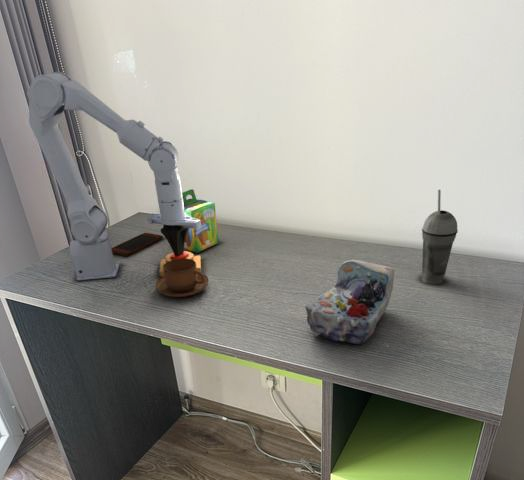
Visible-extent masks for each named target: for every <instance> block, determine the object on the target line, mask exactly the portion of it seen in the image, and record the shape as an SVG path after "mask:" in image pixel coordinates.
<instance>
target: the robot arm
mask: <svg viewBox="0 0 524 480" xmlns="http://www.w3.org/2000/svg"><path fill="white" fill-rule="evenodd" d="M26 95H27V98H28V123H29V127H30V129H31V130H32V132H33V134H34V137H35V139H36V141H37V143H38V145H39V147H40V149H41V151H42V153H43V155H44V158H45V159H46V162H47V164H48V166H49V167H50V170H51V172H52V174H53V177H54V178H55V180H56V182H57V184H58V186H59V188H60V190H61V193H62V195H63V197H64V199H65V201H66V203H67V217H68V220H69V223H70V232H71V234H72V236H73V238H74V240H71V241H70V243H69V253H70V258H71V261H72V265H73V269H74V273H75V275H76V281H88V280H97V279H98V280H99V279H107V278H116V276H117V274H118V271H119V268H120V265H121V264H120V263H119V262H115V257H114V253H112V249H111V248H112V244H111V241H110V237H109V233H108V231H107V230H106V228H107V226H108V222H109V219H108V218H109V217H108V215H107V213H106V211H104V210H103V208H101V207H100V206H99V204H98V201H97V200H96V199H95V198H94V197H93V196H91V195H90V194H89V191H88V189H87V186H86V184H85V182H84V180H83V177H82V175H81V173H80V171H79V169H78V167H77V165H76V161H75V160H74V158H73V156H72V154H71V153H72V152H70V149H69V146H68V144H67V142H66V140H65V138H64V136H63V134H62V132H61V129H60V127H59V123H60V121H61V118H62V116H63V113H64V111H82V112H84V113H85V114H86V115H88V116H90V117H91V118H93V119H94V120H96V121H97V122H99V123H101V124H102V125H103V126H105V127H106V128H108V129H109V130H111V131H112V132H114V133H116V135H117V138H118V141H119V143H120V144H121V145H123V146H124V147H125V148H127V149H128V150H129V151H130V152H132V153H134V154H135V155H136V156H138V157H139V158H141V159H142V160H143V161H146V162H147V163H148V166H149V168H150V170H151V171H152V172H153V176H154V186H155V192H156V196H157V203H158V209H159V213H150V214H148V215H147V216H146V217H147V223H148V224H150V225H153V224H157V225H163V226H162V228H160V233H161V234H162V236H163V237H164V238H165V239H166V241H167V243H168V244H169V246H170V248H171V251H172V253H174V255H175V256H180V255H181V254H183V252H184V251H185V250H184V243H185V238H186V235H187V232H188V230H189V228H191V229H193V230H199V229H200V228H202V227H201V220H198V219H194V218H192V217H189V216H186V213H185V211H184V204H183V197H182V193H183V191H182V190H183V189H182V183H181V178H180V175H179V173H180V171H179V168H178V165H177V163H178V162H179V152H178V150H177V148H176V147H175V145H173V144H172V142H170V141H167V140H164V138H163V137H162V136H159V137H158V136H157V135H155V134H154V133H153V132H151V130H149V129H148V128H146V127H144V126H145V125H146V124H145V122H143V121H142V120H138V121H136V120H135V119H125V118H123V117H122V116H121V115H120V114H118V113H117V112H116V111H114V110H113V109H112V108H111V107H109V106H108V105H107V104H106V103H104V102H103V101H102V100H101V99H99V98H98V96H96V95H95V94H93V93H92V92H91V91H89V90H88V89H87V88H86V87H85V86H84V85H83V84H81V82H79V81H77V80H75V79H72V78H71V77H70V76H69V75H68V74H67V73H64V72H61V71H54V72H51V73H48V74H39V75H37V76H35V77H34V78H33V79H32V81H31V83H30V84H29V87H28V89H27V91H26Z"/></svg>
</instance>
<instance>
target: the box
mask: <svg viewBox="0 0 524 480" xmlns="http://www.w3.org/2000/svg"><path fill="white" fill-rule="evenodd" d="M184 252H186V253H187V258H186V259H191V260H194V261H195V262H196V268H197V271H200V272H201V273H202V259H201V258H202V257H201V255H194V253H193V252H192V251H188V250H184ZM172 253H173V252H171V253H168V254H167V255H165V256H164V257H165V258H160V265H159V272H158V273H159V277H161V278H162V277H164V276H165V275H164V269H163V266H164V264H165V263H167V262H169V261H171V260H172V259H171V254H172Z"/></svg>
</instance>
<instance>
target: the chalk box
mask: <svg viewBox="0 0 524 480" xmlns="http://www.w3.org/2000/svg"><path fill="white" fill-rule="evenodd" d="M188 196H191V198H188V199H187V197H188ZM182 197H183V204H184V211H185V213H186V216H189V217H192V218H194V219H198V220H201V227H202V228H200V229H199V230H193V229H191V228H189V230H188V232H187V235H186V238H185V243H184V251H187V252H191V253H197V254H198V253H200V252H203V251H205V250H206V249H209V248H211V247H214V246H216V245H218V244H219V241H220V240H219V233H218V232H219V231H218V221H217V212H216V203H215V202H212V201H207V200H204V199H197V196H196V194H195V190H194V189H193V188H191V189H188V190H186V191H182Z"/></svg>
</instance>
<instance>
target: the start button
mask: <svg viewBox="0 0 524 480" xmlns="http://www.w3.org/2000/svg"><path fill="white" fill-rule="evenodd" d="M171 253H172V254H171V259H172V260H175V259H186V258H187V253H186V252H183V254H181V255H180V256H175V255H174V253H173V252H171Z"/></svg>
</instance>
